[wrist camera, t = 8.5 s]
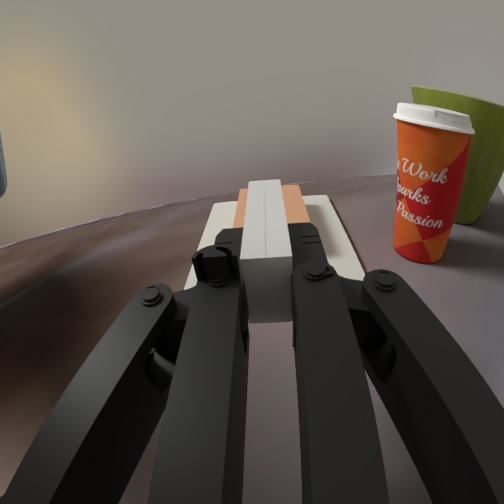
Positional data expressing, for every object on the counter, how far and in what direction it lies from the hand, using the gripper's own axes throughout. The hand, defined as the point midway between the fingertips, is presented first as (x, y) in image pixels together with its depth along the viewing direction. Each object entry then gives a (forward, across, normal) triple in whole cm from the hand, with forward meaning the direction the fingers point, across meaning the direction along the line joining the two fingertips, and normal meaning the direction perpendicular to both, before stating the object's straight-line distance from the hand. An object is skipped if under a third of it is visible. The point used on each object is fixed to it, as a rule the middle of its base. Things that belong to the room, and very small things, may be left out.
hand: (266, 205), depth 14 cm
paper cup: (+9, +15, -10) cm, 20 cm away
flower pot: (+17, +25, -10) cm, 32 cm away
